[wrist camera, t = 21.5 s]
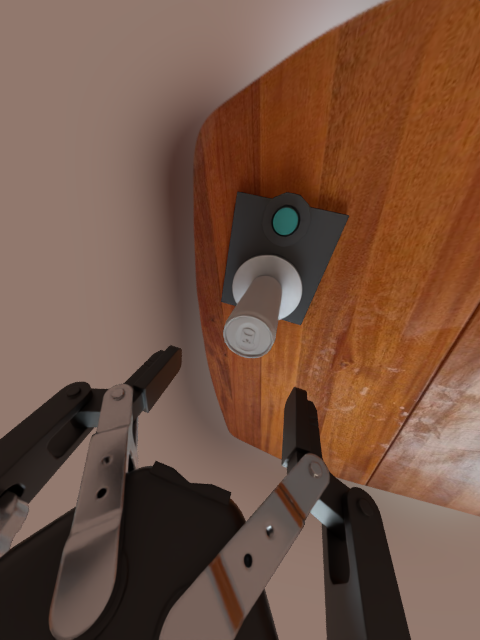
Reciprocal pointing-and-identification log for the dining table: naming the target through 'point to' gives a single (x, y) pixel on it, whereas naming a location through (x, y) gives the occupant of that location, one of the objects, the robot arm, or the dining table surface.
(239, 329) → the beverage can
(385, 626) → the robot arm
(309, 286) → the scale
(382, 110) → the dining table surface
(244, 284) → the scale pan
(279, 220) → the button
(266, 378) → the dining table surface
